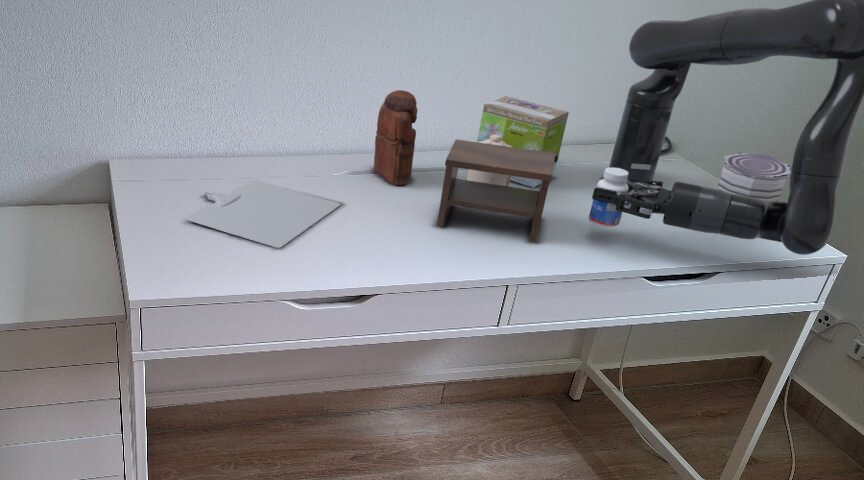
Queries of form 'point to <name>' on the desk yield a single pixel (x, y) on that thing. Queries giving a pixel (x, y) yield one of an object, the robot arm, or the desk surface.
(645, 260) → the desk surface
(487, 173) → the teacup with lid
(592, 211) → the pill bottle
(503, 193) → the walnut stand
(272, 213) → the grey clipboard
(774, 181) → the can
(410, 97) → the wooden figurine
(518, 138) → the tea box
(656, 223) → the desk surface
